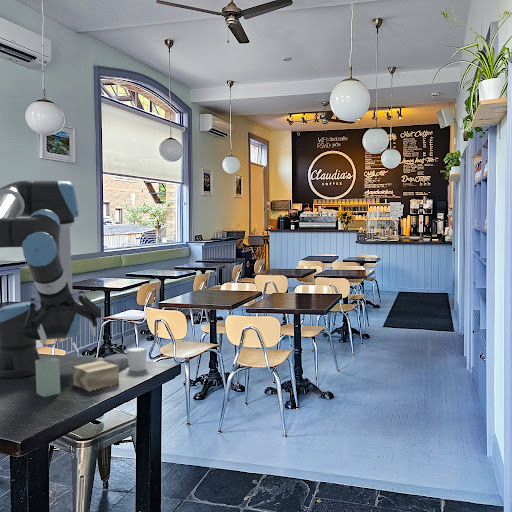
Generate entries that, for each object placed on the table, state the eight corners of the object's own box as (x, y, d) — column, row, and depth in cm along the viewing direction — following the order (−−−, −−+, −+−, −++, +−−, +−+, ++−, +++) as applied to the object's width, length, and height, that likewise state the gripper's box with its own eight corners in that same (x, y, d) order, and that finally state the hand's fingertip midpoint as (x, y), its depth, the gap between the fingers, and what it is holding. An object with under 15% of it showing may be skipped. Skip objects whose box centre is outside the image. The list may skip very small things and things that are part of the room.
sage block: (36, 393, 160) (35, 360, 160) (53, 389, 164) (51, 356, 163) (43, 397, 157) (42, 363, 156) (60, 393, 160) (59, 359, 160)
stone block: (93, 375, 186) (120, 371, 184) (91, 362, 186) (117, 357, 184) (110, 368, 197) (135, 363, 195) (107, 355, 197) (132, 350, 195)
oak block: (73, 385, 169) (73, 366, 169) (102, 378, 176) (102, 360, 176) (89, 392, 162) (88, 372, 161) (119, 385, 169) (118, 366, 168)
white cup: (151, 367, 188) (151, 347, 188) (139, 372, 182) (139, 352, 182) (135, 365, 191) (134, 346, 191) (122, 370, 185) (122, 350, 184)
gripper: (-1, 303, 135) (22, 355, 150) (102, 288, 140) (114, 339, 154) (2, 282, 141) (24, 334, 155) (101, 268, 145) (113, 319, 160)
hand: (69, 336), depth 155 cm, fingers open, 13 cm apart
